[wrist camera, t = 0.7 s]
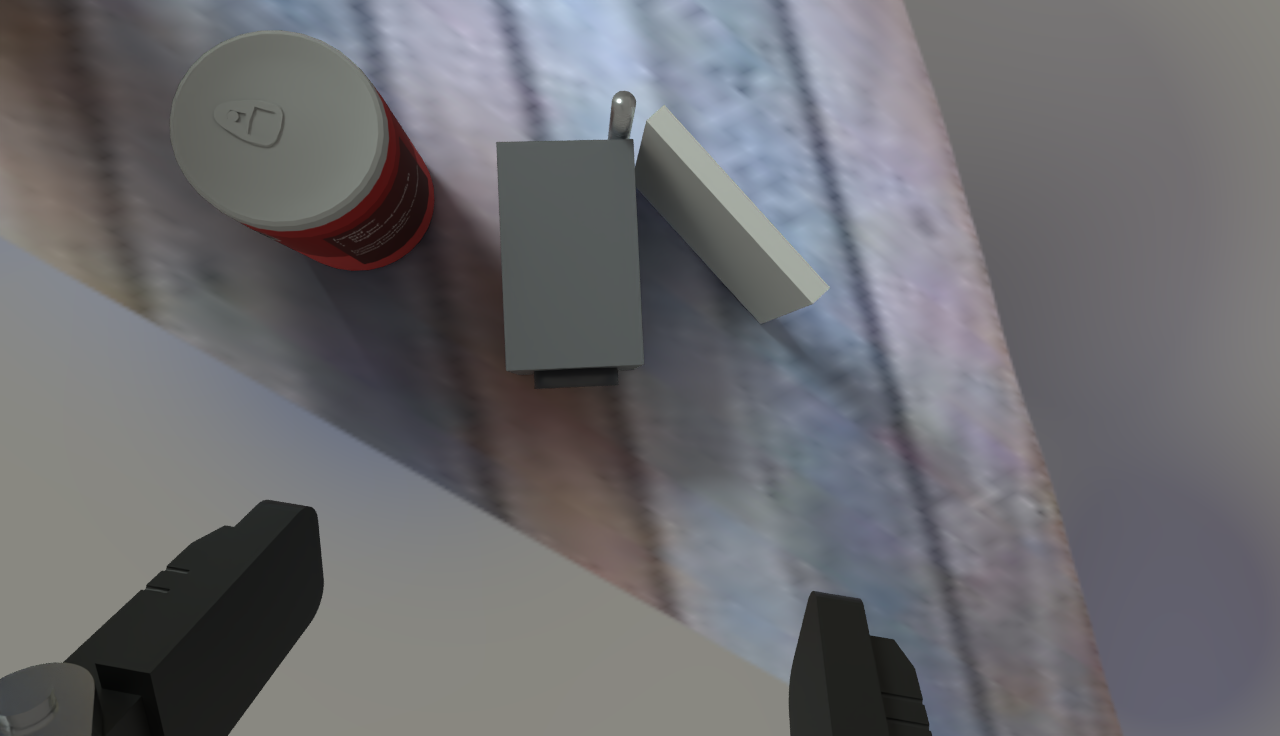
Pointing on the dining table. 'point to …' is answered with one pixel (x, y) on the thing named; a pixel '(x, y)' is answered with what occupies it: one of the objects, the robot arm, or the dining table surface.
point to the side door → (721, 222)
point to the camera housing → (571, 256)
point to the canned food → (301, 150)
